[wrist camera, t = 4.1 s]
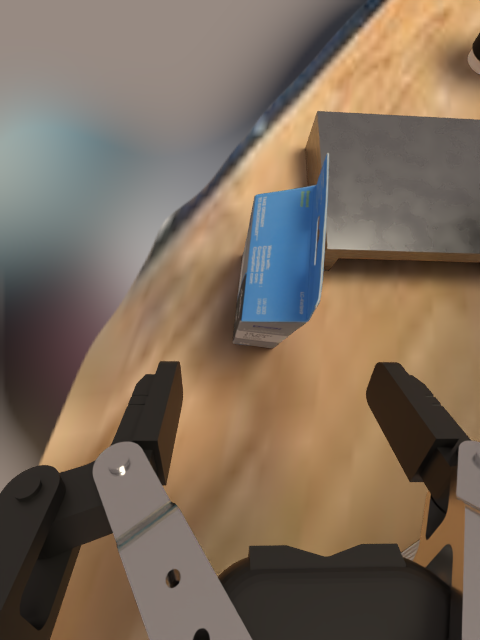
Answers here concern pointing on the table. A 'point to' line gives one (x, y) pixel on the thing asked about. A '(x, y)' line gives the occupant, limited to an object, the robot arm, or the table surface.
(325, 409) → the table surface
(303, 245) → the label tape box
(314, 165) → the brushed metal plate
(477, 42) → the dixie cup
